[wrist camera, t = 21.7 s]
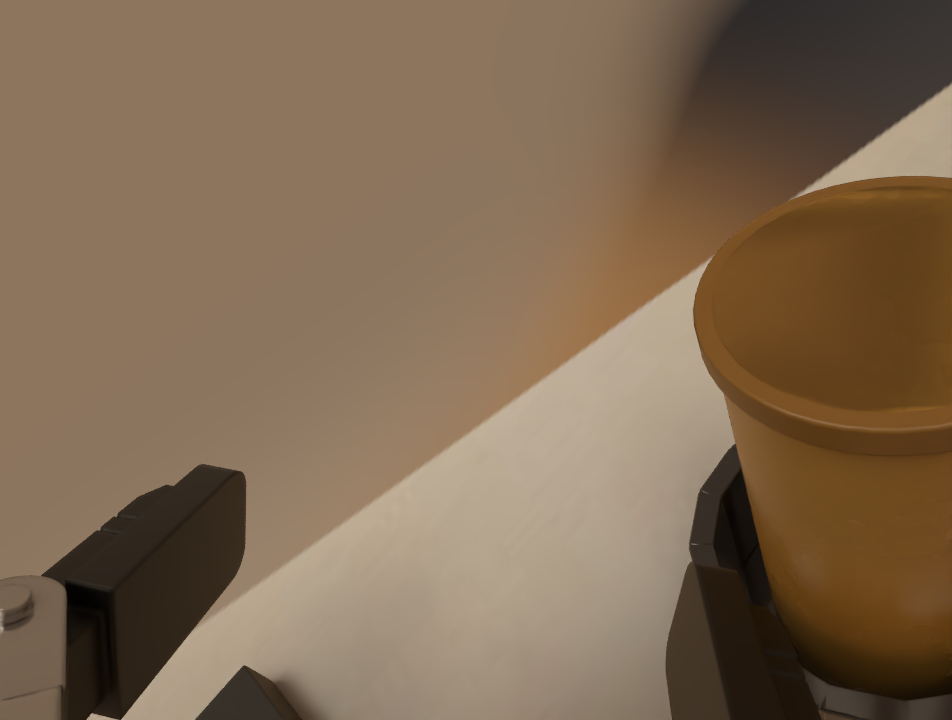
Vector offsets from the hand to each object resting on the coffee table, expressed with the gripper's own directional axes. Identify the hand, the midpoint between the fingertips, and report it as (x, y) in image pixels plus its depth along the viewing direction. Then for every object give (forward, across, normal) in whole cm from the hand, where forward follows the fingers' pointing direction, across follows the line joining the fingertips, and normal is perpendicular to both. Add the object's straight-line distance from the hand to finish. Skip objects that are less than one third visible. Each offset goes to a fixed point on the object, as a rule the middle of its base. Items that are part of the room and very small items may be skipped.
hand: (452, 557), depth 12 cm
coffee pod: (+6, -10, +4) cm, 13 cm away
